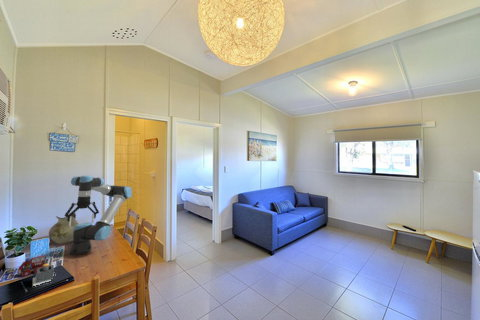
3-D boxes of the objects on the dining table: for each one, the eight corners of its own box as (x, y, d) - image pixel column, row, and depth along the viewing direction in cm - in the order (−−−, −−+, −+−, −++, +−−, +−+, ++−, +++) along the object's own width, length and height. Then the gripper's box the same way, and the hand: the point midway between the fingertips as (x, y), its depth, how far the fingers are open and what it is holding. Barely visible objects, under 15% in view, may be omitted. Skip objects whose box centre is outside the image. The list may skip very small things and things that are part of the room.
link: (35, 278, 121) (36, 268, 121) (52, 274, 126) (53, 264, 127) (35, 283, 116) (37, 273, 116) (53, 279, 121) (54, 269, 122)
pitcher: (52, 247, 165) (56, 218, 166) (43, 241, 176) (46, 213, 178) (83, 240, 184) (86, 214, 186) (73, 235, 196) (76, 210, 197)
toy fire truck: (17, 274, 125) (19, 258, 126) (44, 268, 134) (46, 252, 135) (17, 279, 121) (19, 262, 121) (45, 272, 130) (46, 256, 130)
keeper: (32, 279, 121) (34, 263, 121) (54, 274, 128) (56, 259, 129) (32, 287, 114) (34, 270, 114) (56, 280, 121) (57, 264, 122)
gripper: (62, 197, 134) (59, 228, 133) (105, 195, 153) (102, 222, 152) (61, 196, 139) (58, 225, 138) (102, 194, 158) (100, 220, 157)
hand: (81, 224), depth 145 cm, fingers open, 13 cm apart
